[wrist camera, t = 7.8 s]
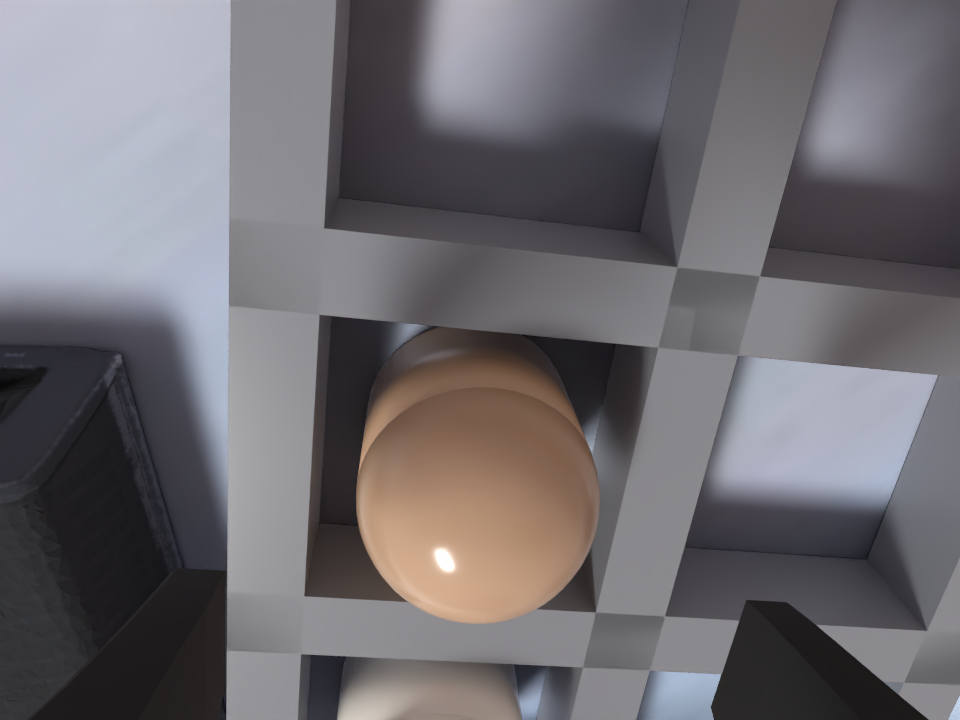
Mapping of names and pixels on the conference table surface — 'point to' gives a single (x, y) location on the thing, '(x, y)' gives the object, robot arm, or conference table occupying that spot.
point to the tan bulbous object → (475, 477)
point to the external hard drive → (71, 517)
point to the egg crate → (630, 389)
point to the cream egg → (427, 690)
